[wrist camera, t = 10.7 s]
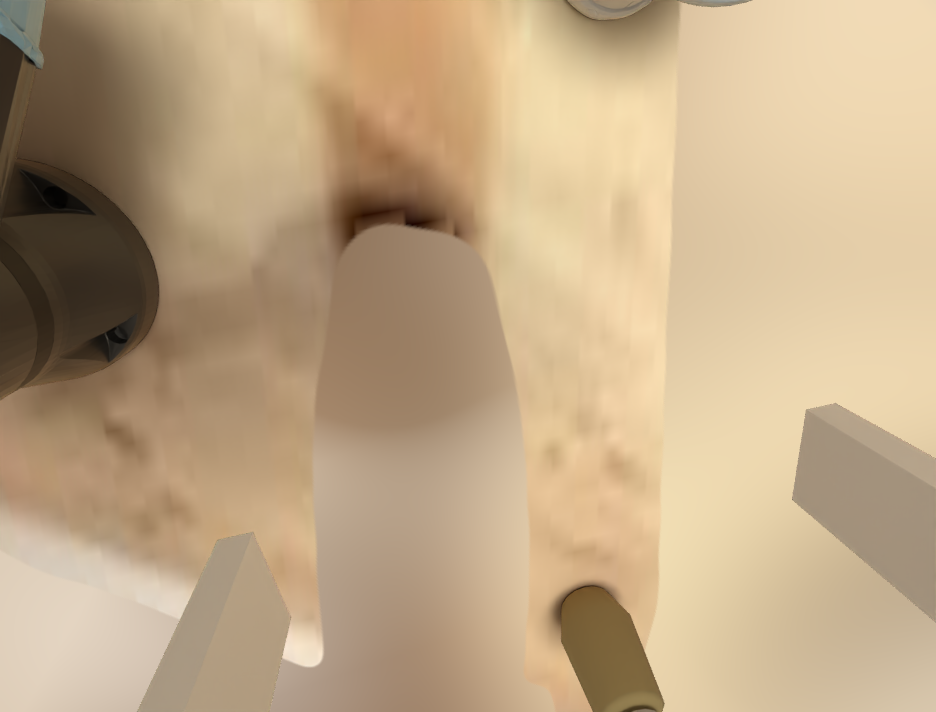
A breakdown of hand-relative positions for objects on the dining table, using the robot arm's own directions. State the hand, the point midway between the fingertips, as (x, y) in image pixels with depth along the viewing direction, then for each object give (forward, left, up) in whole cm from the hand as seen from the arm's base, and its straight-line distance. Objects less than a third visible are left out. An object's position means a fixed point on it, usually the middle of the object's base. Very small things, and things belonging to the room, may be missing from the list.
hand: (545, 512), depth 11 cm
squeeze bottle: (+11, -41, -29) cm, 51 cm away
